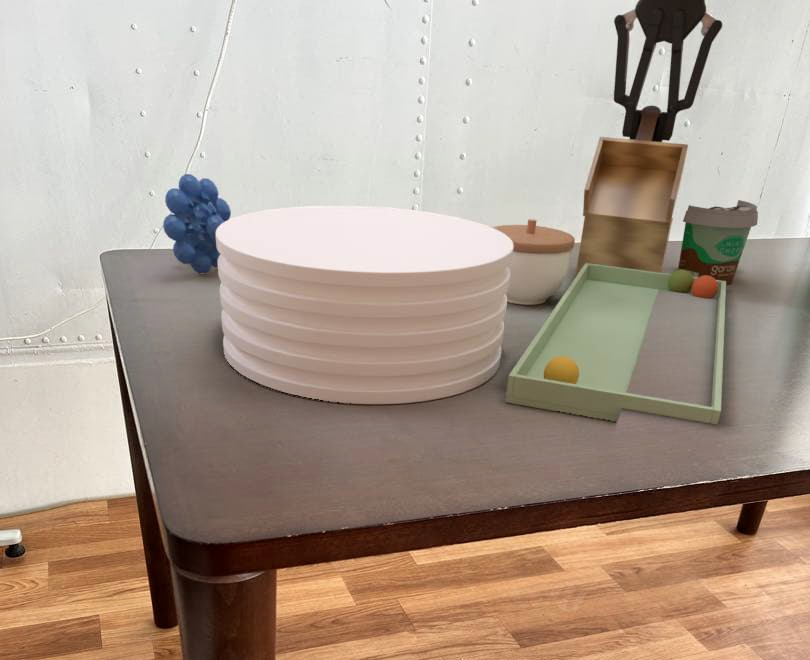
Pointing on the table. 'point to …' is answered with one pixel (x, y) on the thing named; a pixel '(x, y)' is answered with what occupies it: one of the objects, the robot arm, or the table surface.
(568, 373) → the ball mustard
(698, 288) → the ball terracotta
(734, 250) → the food container
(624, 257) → the riser
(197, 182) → the grapes
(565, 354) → the tray
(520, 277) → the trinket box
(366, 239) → the plate stack
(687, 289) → the ball olive
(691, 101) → the robot arm
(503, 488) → the table surface
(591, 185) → the scoop
